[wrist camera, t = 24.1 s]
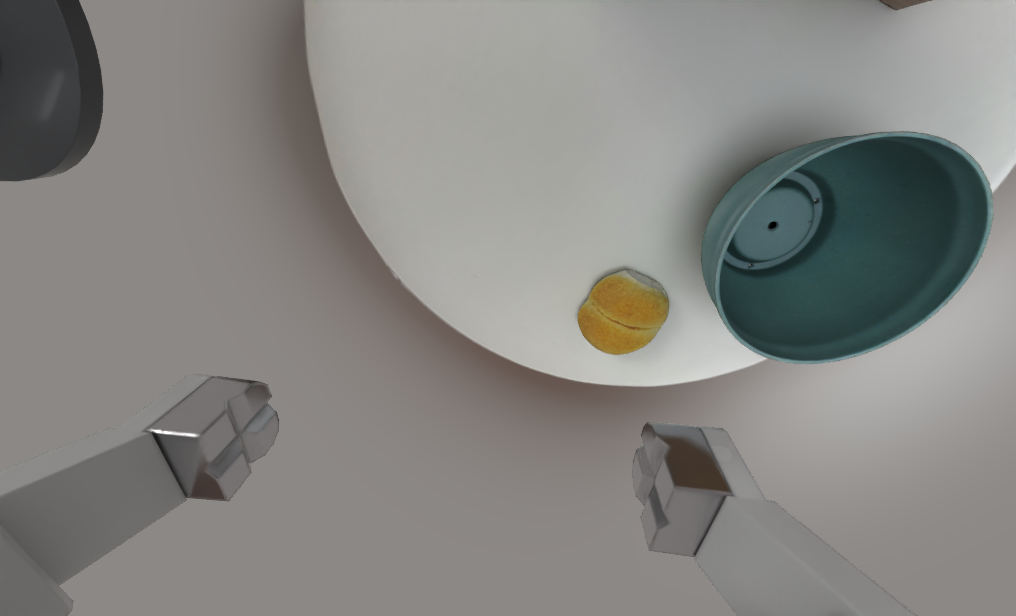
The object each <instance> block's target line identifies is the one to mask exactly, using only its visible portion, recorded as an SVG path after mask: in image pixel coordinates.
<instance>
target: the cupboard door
mask: <svg viewBox="0 0 1016 616" xmlns="http://www.w3.org/2000/svg"><path fill="white" fill-rule="evenodd" d="M881 1H882V2H884V3H886V4H887V5H889V6H891V7H892V8H894V9H896V10H898V9H902V8H906V7H909V6H913V5H917V4H920V3H924V2H927V1H931V0H881Z"/></svg>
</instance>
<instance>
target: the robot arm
mask: <svg viewBox="0 0 1016 616" xmlns="http://www.w3.org/2000/svg"><path fill="white" fill-rule="evenodd" d="M271 397H272V395H271V392H270V390H269V387H268V384H265V383H263V382H259V381H251V380H244V379H236V378H228V377H221V376H217V377H215V376H208V375H201V374H192V375H189V376H186V377H184V378H182V379H181V380H180V381H179V382H177V383H176V384H175V385H173V386H172V387H171V388H169V389H168V390H167V391H165V392H164V393H163V394H162V395H160V396H159V397H158V398H156V399H155V400H154V401H152V402H151V403H150V404H148V405H147V406H146V407H144V408H143V409H142V410H141V411H139V412H138V413H137V414H135V415H134V416H133V417H131V418H130V419H129V420H127V421H126V422H125V423H123V424H122V425H121V426H120V427H118V428H108V429H105V430H102V431H100V432H97V433H95V434H92V435H90V436H87V437H85V438H82V439H80V440H77V441H75V442H72V443H69V444H67V445H65V446H62V447H59V448H57V449H54V450H52V451H49V452H47V453H44V454H41V455H39V456H36V457H34V458H32V459H29V460H26V461H24V462H21V463H19V464H16V465H14V466H11V467H9V468H6V469H4V470H1V471H0V616H67V615H68V614H69V613H70V612H71V611H72V608H73V600H72V599H71V598H70V597H69V596H68V595H67V594H66V593H65V592H64V591H63V590H62V589H61V588H60V587H59V585H61V584H62V583H64V582H65V581H67V580H68V579H70V578H71V577H73V576H74V575H76V574H77V573H79V572H80V571H82V570H83V569H84V568H86V567H88V566H89V565H91V564H92V563H94V562H95V561H97V560H98V559H100V558H101V557H103V556H104V555H106V554H107V553H109V552H110V551H112V550H113V549H115V548H116V547H117V546H119V545H121V544H122V543H124V542H125V541H127V540H128V539H130V538H131V537H133V536H134V535H136V534H137V533H139V532H140V531H142V530H143V529H144V528H146V527H147V526H149V525H150V524H152V523H153V522H155V521H156V520H158V519H160V518H161V517H163V516H164V515H165V514H167V513H168V512H170V511H171V510H173V509H174V508H176V507H177V506H179V505H180V504H182V503H183V502H185V501H186V500H187V499H186V498H196V499H207V500H219V501H230V499H231V498H232V497H233V495H234V494H235V493H236V492H237V490H238V489H239V488H240V487H241V485H242V484H243V483H244V481H245V480H246V479H247V478H248V476H249V475H250V474H251V463H252V462H254V461H256V460H257V459H259V458H261V457H263V456H265V455H266V453H267V452H268V451H269V449H270V448H271V447H272V445H273V444H274V441H275V439H276V436H277V434H278V431H279V419H278V415H277V412H276V411H275V410H274V409H273V408H272V407H271V406H270V405H269V404H268V401H269V400H270V398H271ZM641 437H642V440H643V444H644V445H643V446H641V447H640V448H638V449H637V450H636V453H635V456H634V460H633V471H632V477H633V486H634V490H635V495H636V497H637V498H638V499H639V500H640V501H641V502H642V504H643V505H644V509H643V512H642V515H641V520H642V524H643V528H644V532H645V537H646V540H647V545H648V549H649V551H655V552H663V553H669V554H676V555H683V556H690V557H695V558H694V560H695V562H696V563H697V564H698V566H699V567H700V568H701V570H702V571H703V572H704V573H705V575H706V576H707V577H708V578H709V580H710V581H711V582H712V583H713V585H714V586H715V587H716V589H717V590H718V591H719V593H720V594H721V595H722V597H723V598H724V599H725V600H726V602H727V603H728V604H729V606H730V607H731V608H732V609H733V611H734V612H735V613H736V615H737V616H917V615H916V614H914V613H913V612H912V611H911V610H909V609H908V608H907V607H906V606H904V605H903V604H902V603H901V602H899V601H898V600H897V599H896V598H894V597H893V596H892V595H891V594H889V593H888V592H887V591H886V590H884V589H883V588H882V587H881V586H879V585H878V584H877V583H876V582H875V581H873V580H872V579H871V578H870V577H868V576H867V575H866V574H864V573H863V572H862V571H861V570H860V569H858V568H857V567H856V566H855V565H853V564H852V563H851V562H849V561H848V560H847V559H846V558H844V557H843V556H842V555H841V554H840V553H838V552H837V551H836V550H834V549H833V548H832V547H831V546H830V545H828V544H827V543H826V542H825V541H823V540H822V539H821V538H820V537H818V536H817V535H816V534H815V533H813V532H812V531H811V530H810V529H808V528H807V527H806V526H805V525H803V524H802V523H801V522H800V521H798V520H797V519H796V518H795V517H793V516H792V515H791V514H790V513H788V512H787V511H786V510H784V509H783V508H782V507H781V506H780V505H778V504H777V503H776V502H775V501H769V500H766V499H765V498H764V496H763V494H762V492H761V490H760V489H759V487H758V485H757V484H756V482H755V480H754V478H753V476H752V475H751V473H750V471H749V470H748V468H747V466H746V464H745V462H744V461H743V459H742V457H741V455H740V453H739V452H738V450H737V448H736V447H735V445H734V443H733V441H732V439H731V438H730V436H729V434H728V433H727V432H726V431H725V430H724V429H723V428H713V427H701V426H696V427H695V426H688V425H678V424H668V423H657V422H647V423H646V424H645V425H644V427H643V430H642V433H641Z"/></svg>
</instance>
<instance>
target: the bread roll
mask: <svg viewBox="0 0 1016 616" xmlns="http://www.w3.org/2000/svg"><path fill="white" fill-rule="evenodd" d="M668 312H669V299H668V296H667V294H666V293H665V291H664V289H663V288H662V286H661V285H660V284H658V283H657V282H655V281H653V280H652V279H650V278H648V277H646V276H644V275H641V274H639V273H636V272H633V271H630V270H623V271H620V272H617V273H614V274H611V275H609V276H607V277H605V278H603V279H602V280H601V281H599V282H598V283H597V284H596V285H595V286H594V288H593V289H592V291H591V293H590V296H589V298H588V299H587V301H586V302H585V303H584V304H583V306H582V307H581V309H580V311H579V313H578V324H579V327H580V330H581V332H582V334H583V336H584V337H585V338H586V339H587V341H588V342H589V343H590V344H591V345H593V346H594V347H595V348H597V349H598V350H600V351H602V352H605V353H609V354H613V355H620V354H627V353H630V352H633V351H636V350H638V349H640V348H642V347H644V346H646V345H647V344H648V343H649V342H650V341H651V340H652V339H653V338H654V337H655V336H656V334H657V332H658V331H659V329H660V328H661V326H662V325H663V323H664V322H665V320H666V318H667V316H668Z"/></svg>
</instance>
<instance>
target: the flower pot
mask: <svg viewBox="0 0 1016 616" xmlns="http://www.w3.org/2000/svg"><path fill="white" fill-rule="evenodd" d="M816 198H817V199H818V201H817V202H814V200H815V199H816ZM773 221H774V222H776V223H777V225H776V227H775V228H773V229H769V227H768V225H769V224H770V223H771V222H773ZM992 221H993V196H992V190H991V188H990V183H989V181H988V180H987V177H986V175H985V173H984V171H983V170H982V168H981V167H980V165H979V164H978V163H977V162H976V161H975V159H974V158H973V157H972V156H971V155H970V154H968V153H967V152H966V151H965V150H964V149H962V148H961V147H959V146H958V145H956V144H954V143H952V142H950V141H948V140H946V139H943V138H940V137H937V136H933V135H929V134H924V133H917V132H879V133H870V134H864V135H858V136H845V137H837V138H831V139H825V140H820V141H816V142H812V143H809V144H805V145H802V146H799V147H796V148H793V149H791V150H788V151H785V152H783V153H781V154H779V155H777V156H775V157H773V158H771V159H769V160H767V161H765V162H763V163H762V164H760V165H758V166H757V167H755V168H754V169H752V170H751V171H750V172H748V173H747V174H746V175H744V176H743V177H742V178H741V179H740V180H739V181H737V182H736V183H735V184H734V185H733V186H732V187H731V188H730V189H729V191H728V192H727V193H726V194H725V195H724V197H723V198H722V199H721V201H720V202H719V203H718V205H717V207H716V208H715V210H714V212H713V213H712V215H711V217H710V220H709V222H708V225H707V227H706V230H705V234H704V238H703V243H702V252H701V262H702V271H703V277H704V280H705V284H706V287H707V290H708V292H709V295H710V297H711V299H712V301H713V303H714V304H715V306H716V308H717V310H718V313H719V315H720V317H721V319H722V321H723V322H724V324H725V325H726V327H727V329H728V330H729V331H730V332H731V334H732V335H733V336H734V337H735V338H736V339H737V340H738V341H739V342H740V343H742V344H743V345H744V346H746V347H747V348H748V349H750V350H752V351H753V352H755V353H757V354H759V355H762V356H764V357H767V358H770V359H773V360H777V361H781V362H786V363H795V364H820V363H828V362H834V361H840V360H844V359H849V358H852V357H856V356H859V355H862V354H865V353H868V352H870V351H873V350H876V349H878V348H880V347H883V346H885V345H887V344H889V343H891V342H893V341H895V340H897V339H899V338H901V337H903V336H904V335H906V334H908V333H909V332H911V331H913V330H914V329H916V328H917V327H919V326H920V325H922V324H923V323H924V322H926V321H927V320H928V319H929V318H931V317H932V316H933V315H935V314H936V313H937V312H938V311H939V310H940V309H941V308H942V307H943V306H945V305H946V304H947V303H948V302H949V301H950V300H951V299H952V298H953V296H954V295H955V294H956V293H957V292H958V291H959V290H960V289H961V287H962V286H963V285H964V284H965V282H966V281H967V280H968V278H969V277H970V275H971V274H972V272H973V271H974V269H975V267H976V266H977V264H978V262H979V259H980V258H981V257H982V254H983V251H984V249H985V247H986V243H987V240H988V237H989V234H990V231H991V226H992ZM749 264H752V266H751V267H748V266H749Z"/></svg>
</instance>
